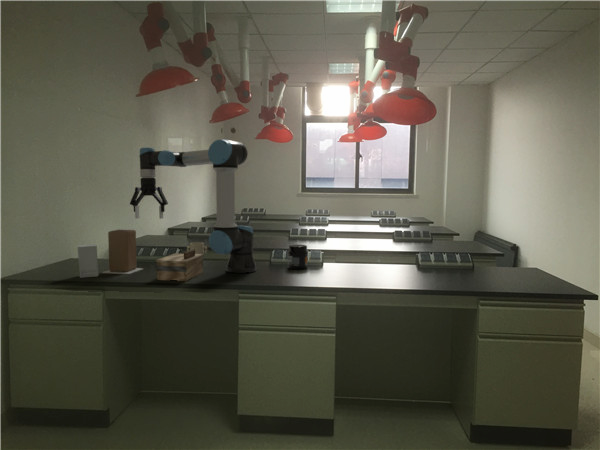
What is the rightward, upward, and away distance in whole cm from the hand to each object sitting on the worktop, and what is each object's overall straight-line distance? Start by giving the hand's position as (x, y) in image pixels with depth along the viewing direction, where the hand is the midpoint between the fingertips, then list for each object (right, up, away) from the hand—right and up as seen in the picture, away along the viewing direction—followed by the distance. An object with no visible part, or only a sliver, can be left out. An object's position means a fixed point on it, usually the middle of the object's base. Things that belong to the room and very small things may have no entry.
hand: (149, 218), depth 240 cm
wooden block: (-9, -26, -11) cm, 30 cm away
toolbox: (+22, -28, -22) cm, 42 cm away
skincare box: (-21, -28, -25) cm, 42 cm away
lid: (+22, -20, -23) cm, 38 cm away
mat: (-9, -27, -11) cm, 30 cm away
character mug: (+25, -26, 0) cm, 36 cm away
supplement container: (+78, -27, +2) cm, 82 cm away
